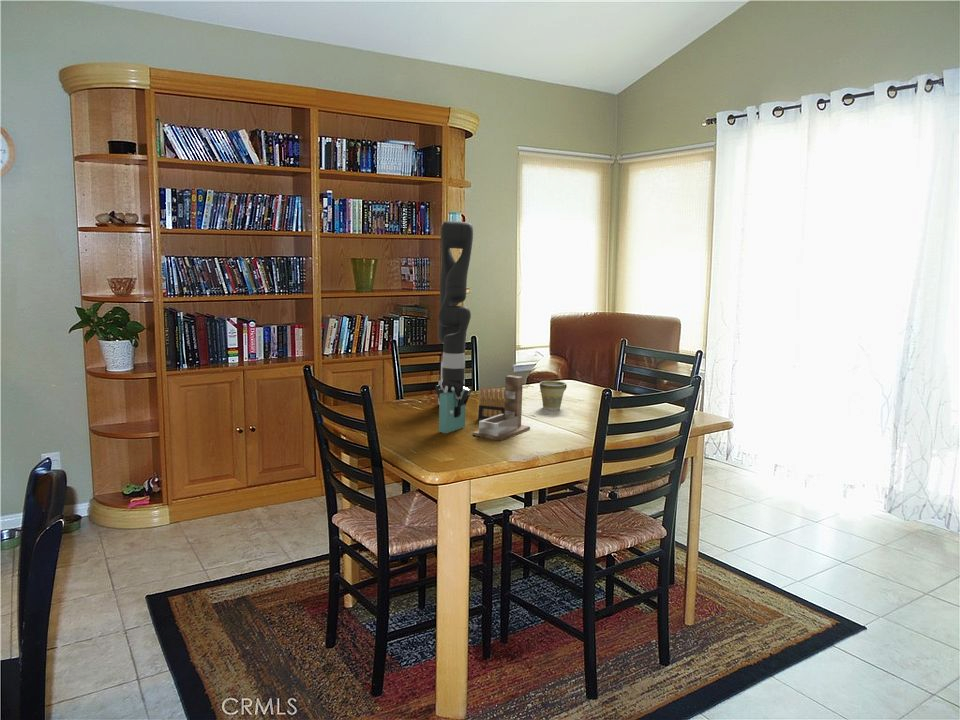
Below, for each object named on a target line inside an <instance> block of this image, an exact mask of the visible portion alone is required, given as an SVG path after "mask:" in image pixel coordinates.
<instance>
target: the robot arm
mask: <svg viewBox="0 0 960 720" xmlns="http://www.w3.org/2000/svg"><path fill="white" fill-rule="evenodd" d="M473 239H474V227H473V224H472V223H470V222H469V221H453V220H452V221H450V220H446V221H444V222H443V223H442V225H441V229H440V253H441V254H440V256H441V257H440V258H441V259H440V260H441V261H440V262H441V264H440V265H441V266H440V279H439V312H438V317H437V318H438V319H437V320H438V322H437V323H438V324H437V338H438V339H437V340H438V342H439V343H440V344H443V348H442V349H443V350H442V351H443V352H442V354H441V355H440V356H441V357H440V380H438V385H437V384H436V385H435V386H434V387H435V391H436V394H437V405H438V404H439V399H440V394H441V393H445V392H451V393H454V402H455V407H454V417H455V418H457V417H459V416H460V415H461V406H462V405H467V403H468V401H469V398H470V396H471V393H472V389H471V388H468V387H466V385H465V384H466V383H465V379H466V376H465V375H466V342H467V331H468V327H469V324H470V321H471V318H472V317H471V316H472V314H471V310H470V308H469V307H468V306H465V305H459V304H460V303H463V302H464V301H465V300H466V299H467V286H468V285H467V284H468V283H467V282H468V272H469V267H470V262H471V255H472V250H473V241H474V240H473ZM451 249H455V250H456V249H461V250H462V252H461V253H460V256H459V257H458V259H457V261H456V259H454V256H453V253H452V250H451ZM462 391H463V396H462V394H461V392H462ZM457 396H458V397H457Z"/></svg>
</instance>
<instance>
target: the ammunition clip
mask: <svg viewBox="0 0 960 720" xmlns="http://www.w3.org/2000/svg"><path fill="white" fill-rule="evenodd" d="M483 386H484V385H481V387H480V393H479V405H478V417H477V419H478V420H484V419H487V418H490V417H493V416H496V415H499V414H504V410H505V389H504V391H503V389H502V387H500V388H499V391H498V388H497V386H496V387H495V389H493V386H491V387H490V390H489V387H488V386H486V387H485V390H484V387H483Z"/></svg>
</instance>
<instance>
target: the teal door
mask: <svg viewBox="0 0 960 720" xmlns="http://www.w3.org/2000/svg"><path fill="white" fill-rule="evenodd" d="M461 394H462V396H463V391H462V392H461ZM457 397H458V396H457ZM466 405H467V404H466ZM466 405H462V406H461V415H460V416H459V417H457V418H455V417H454V407H455V402H454V393H451V392H445V393H441V394H440V399H439V409H438V433H440V432H442V433H441V434H445V433H447V434H449V432H450V433H453V432H455V430H456V431H458V430H457V429H459V430H461V428H462V429H464V428H463V427H465V428H466ZM452 431H453V432H452Z"/></svg>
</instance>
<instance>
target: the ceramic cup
mask: <svg viewBox="0 0 960 720" xmlns="http://www.w3.org/2000/svg"><path fill="white" fill-rule="evenodd" d="M539 389H540V393H541V400H542V408H543V410H546V409H547V410H546V411H559V410H560V409H561V406H562V405H561V404H562V402H563V401H562V400H563V396H564V393H565V391H566V390H567V383H565V382H563V381H559V380H543V381H540V382H539ZM558 409H559V410H558Z"/></svg>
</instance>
